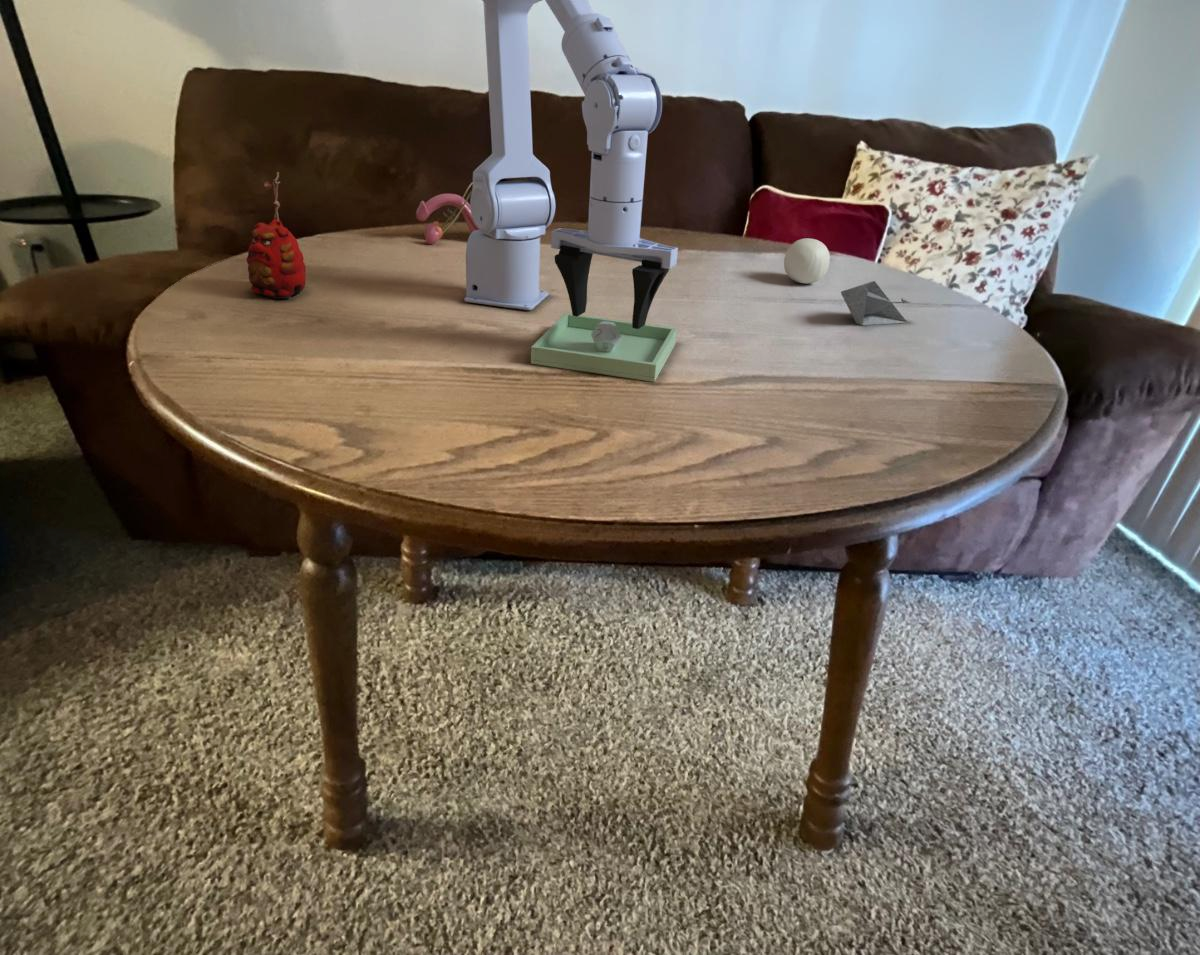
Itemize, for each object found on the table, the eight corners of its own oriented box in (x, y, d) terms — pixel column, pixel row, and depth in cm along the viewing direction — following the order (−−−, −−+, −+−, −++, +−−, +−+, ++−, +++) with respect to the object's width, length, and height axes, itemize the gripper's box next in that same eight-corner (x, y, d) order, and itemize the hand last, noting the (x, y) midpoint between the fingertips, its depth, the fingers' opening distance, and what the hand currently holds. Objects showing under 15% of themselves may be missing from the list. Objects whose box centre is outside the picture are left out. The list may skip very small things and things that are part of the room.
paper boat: (872, 299, 121) (934, 298, 115) (861, 341, 121) (923, 342, 114) (832, 262, 113) (897, 258, 106) (820, 307, 112) (884, 306, 106)
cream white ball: (832, 281, 133) (840, 238, 130) (816, 291, 127) (824, 246, 124) (791, 273, 136) (798, 231, 133) (774, 282, 131) (781, 238, 127)
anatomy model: (403, 214, 143) (461, 145, 140) (464, 267, 150) (521, 203, 147) (406, 228, 134) (468, 155, 131) (471, 284, 141) (532, 216, 138)
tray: (530, 363, 95) (531, 346, 94) (564, 328, 106) (564, 312, 105) (654, 382, 92) (656, 364, 91) (675, 343, 103) (677, 328, 102)
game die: (587, 344, 100) (588, 319, 98) (617, 343, 101) (619, 319, 99) (593, 354, 97) (594, 329, 96) (624, 354, 98) (626, 329, 96)
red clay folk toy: (238, 294, 110) (220, 174, 103) (275, 282, 116) (260, 167, 109) (285, 304, 108) (270, 182, 101) (321, 290, 114) (309, 174, 107)
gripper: (692, 201, 91) (679, 322, 98) (573, 184, 96) (568, 300, 103) (668, 211, 86) (656, 339, 92) (543, 192, 91) (540, 315, 97)
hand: (608, 320), depth 97 cm, fingers open, 7 cm apart
